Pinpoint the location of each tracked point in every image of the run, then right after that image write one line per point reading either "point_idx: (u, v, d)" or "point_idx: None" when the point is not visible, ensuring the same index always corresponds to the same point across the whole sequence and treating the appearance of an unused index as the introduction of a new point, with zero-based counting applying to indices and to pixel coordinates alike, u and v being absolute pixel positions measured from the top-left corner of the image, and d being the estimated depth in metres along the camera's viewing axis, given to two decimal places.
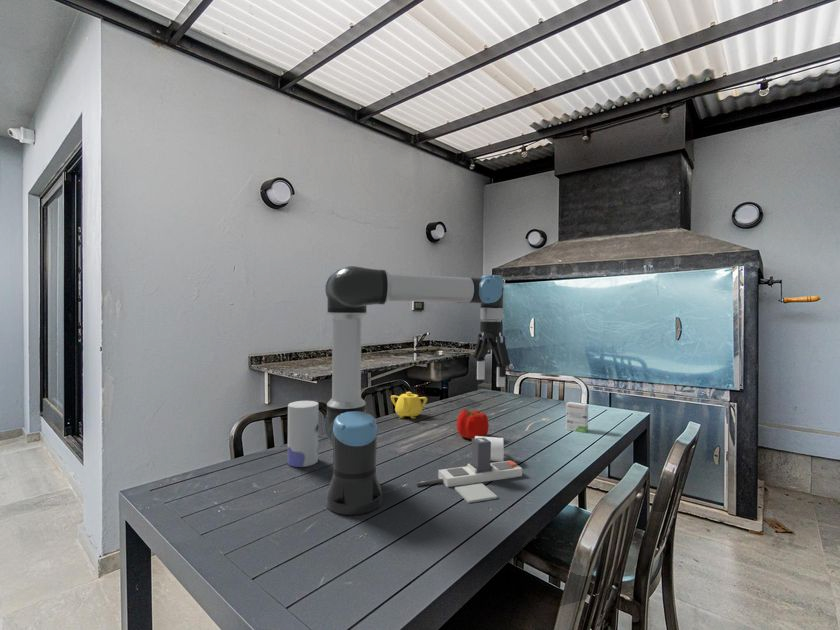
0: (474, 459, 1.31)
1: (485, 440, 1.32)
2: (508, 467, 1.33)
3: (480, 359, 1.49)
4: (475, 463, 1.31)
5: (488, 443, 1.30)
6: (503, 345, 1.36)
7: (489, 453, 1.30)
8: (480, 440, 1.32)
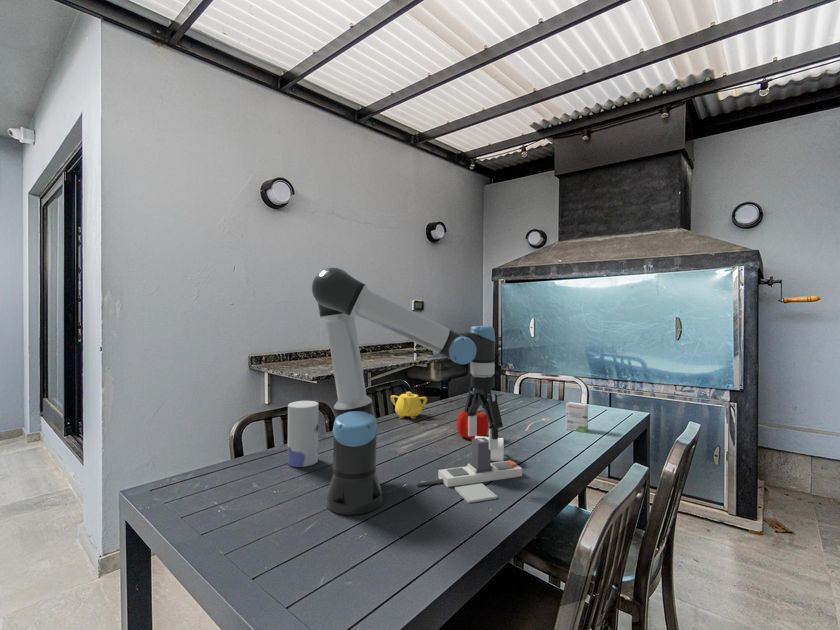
0: (474, 459, 1.31)
1: (485, 440, 1.32)
2: (508, 467, 1.33)
3: (471, 414, 1.38)
4: (475, 463, 1.31)
5: (488, 443, 1.30)
6: (495, 404, 1.25)
7: (489, 453, 1.30)
8: (480, 440, 1.32)
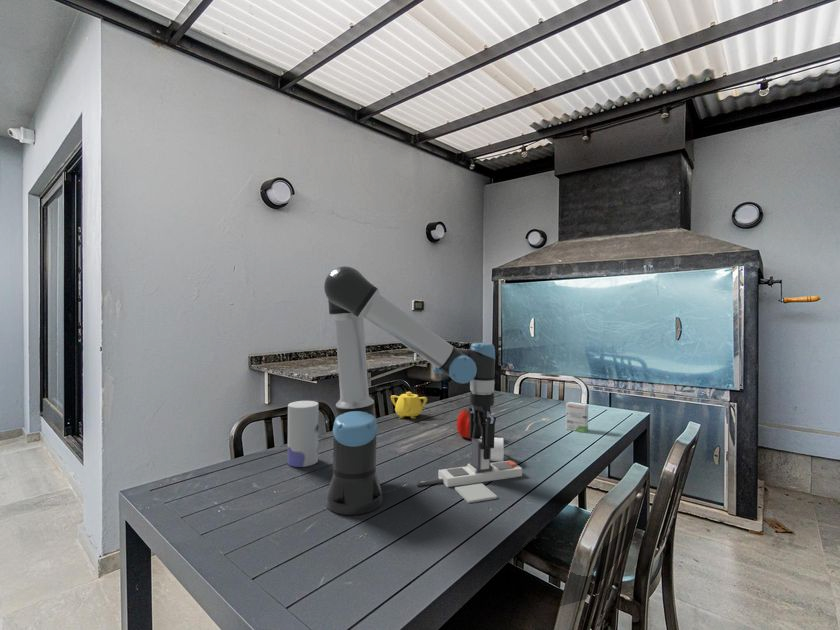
0: (474, 459, 1.31)
1: None
2: (508, 467, 1.33)
3: None
4: (475, 463, 1.31)
5: None
6: (492, 427, 1.26)
7: None
8: (480, 440, 1.32)
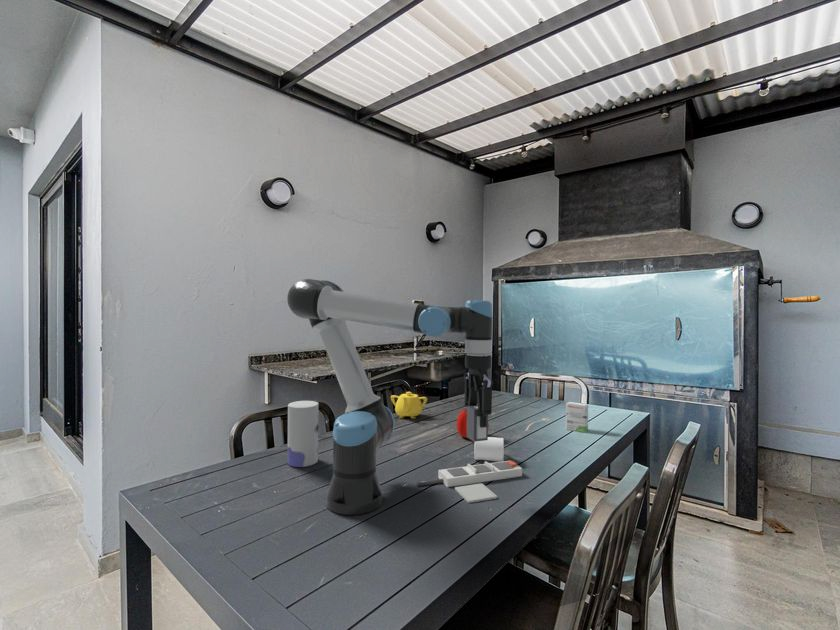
0: (470, 428, 1.19)
1: None
2: (508, 467, 1.33)
3: None
4: (471, 432, 1.18)
5: None
6: (489, 391, 1.14)
7: None
8: (476, 407, 1.19)
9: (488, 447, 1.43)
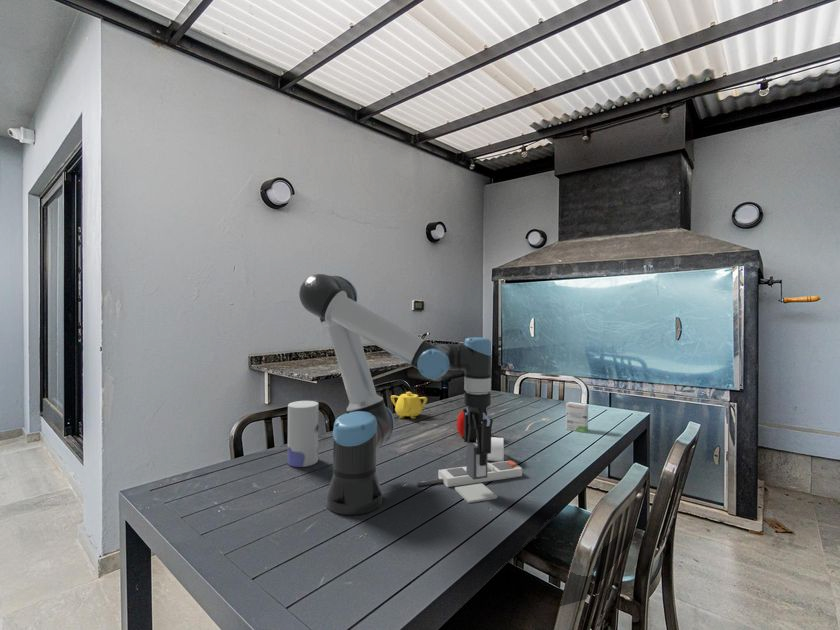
0: (469, 465, 1.19)
1: None
2: (508, 467, 1.33)
3: None
4: (471, 470, 1.19)
5: None
6: (488, 430, 1.14)
7: (486, 459, 1.19)
8: (476, 444, 1.20)
9: None
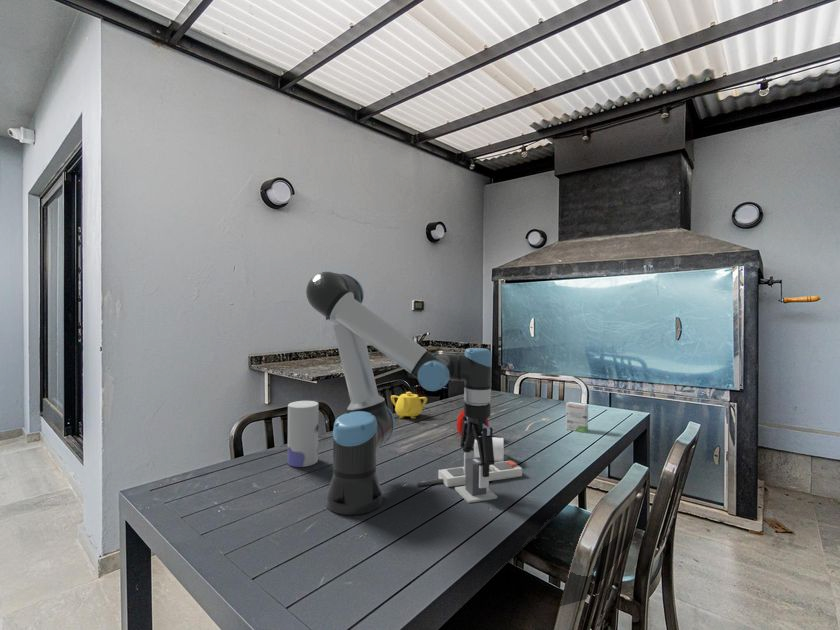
0: (468, 481, 1.20)
1: (480, 460, 1.20)
2: (508, 467, 1.33)
3: (468, 450, 1.25)
4: (470, 486, 1.19)
5: None
6: (489, 439, 1.14)
7: None
8: (475, 460, 1.20)
9: None
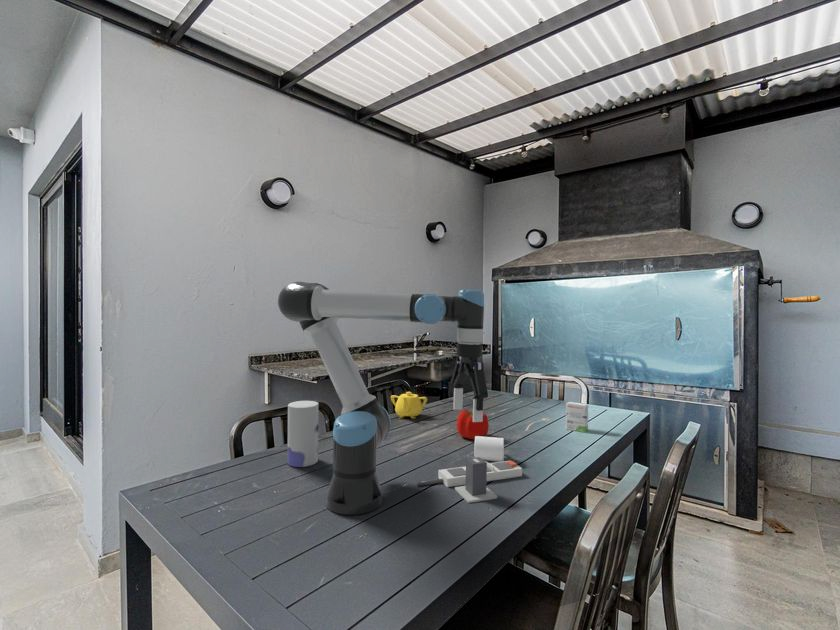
0: (468, 481, 1.20)
1: (480, 460, 1.20)
2: (508, 467, 1.33)
3: (458, 386, 1.29)
4: (470, 486, 1.19)
5: (484, 464, 1.19)
6: (481, 373, 1.15)
7: (485, 475, 1.19)
8: (475, 460, 1.20)
9: (488, 447, 1.43)
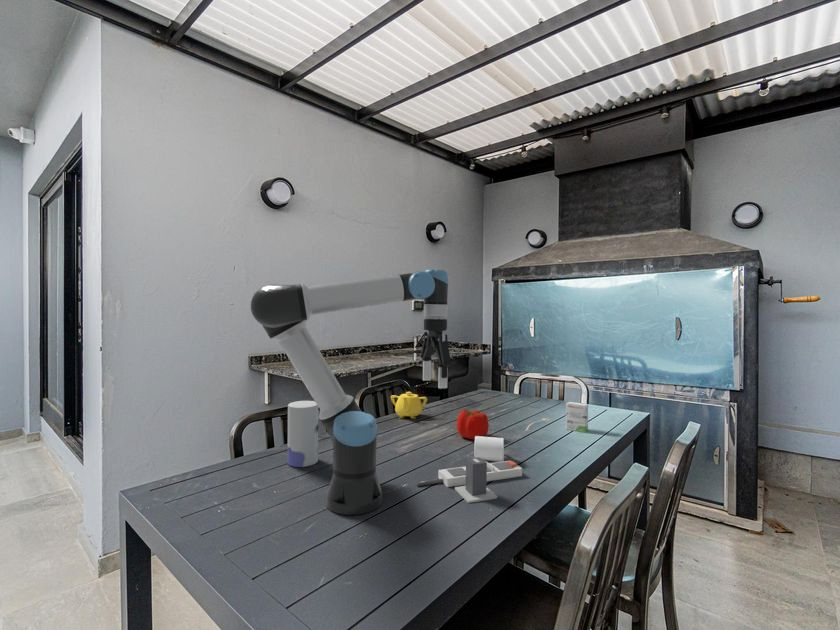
0: (468, 481, 1.20)
1: (480, 460, 1.20)
2: (508, 467, 1.33)
3: (426, 359, 1.41)
4: (470, 486, 1.19)
5: (484, 464, 1.19)
6: (445, 344, 1.27)
7: (485, 475, 1.19)
8: (475, 460, 1.20)
9: (488, 447, 1.43)
